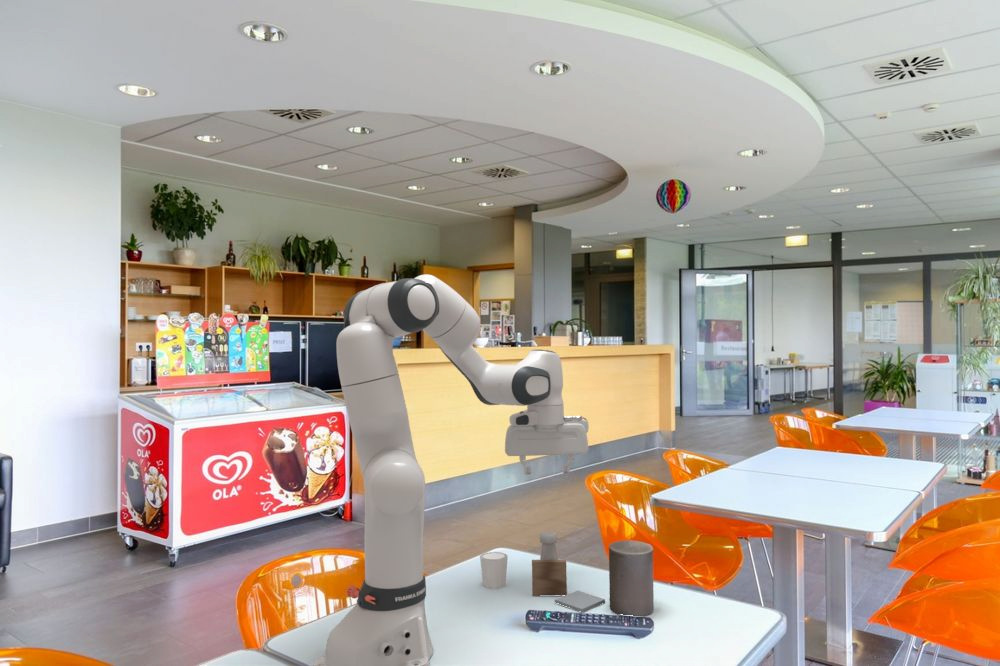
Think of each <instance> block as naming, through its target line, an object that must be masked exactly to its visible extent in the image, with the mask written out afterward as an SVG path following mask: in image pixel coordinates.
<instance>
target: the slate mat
mask: <svg viewBox="0 0 1000 666" xmlns="http://www.w3.org/2000/svg"><path fill="white" fill-rule="evenodd" d="M555 602H556V603H559V604H561V605H564V606H567V607H570V608H572V609H571V610H573V609H574V610H573V611H576V612H579V611H581V612H580V613H582V612H583V613H585V612H587V610H588V611H590V610H592V609H594V608H596V607H595V606H597V607H599V606H601V605H603V604H605V603H606V599H605V598H602V597H599V596H596V595H593V594H589V593H587V592H583V591H581V590H575V591H573V592H571V593H567V595H565V596H559V597H557V598H556V599H554V603H555ZM556 603H555V604H556ZM602 603H603V604H602ZM600 604H601V605H600ZM561 605H560V606H561ZM598 605H599V606H598ZM564 606H563V607H564ZM567 607H566V608H567ZM593 607H594V608H593ZM570 608H569V609H570ZM591 608H592V609H591ZM589 609H590V610H589Z"/></svg>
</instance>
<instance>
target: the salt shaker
mask: <svg viewBox="0 0 1000 666" xmlns="http://www.w3.org/2000/svg"><path fill="white" fill-rule="evenodd" d="M539 542H540V543H541V550H540V558H539V560H559V557H558V553H557V547H556V544H557V543H558V535H557V533H556V532H554V531H542V532H541V533H540V534H539Z"/></svg>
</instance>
